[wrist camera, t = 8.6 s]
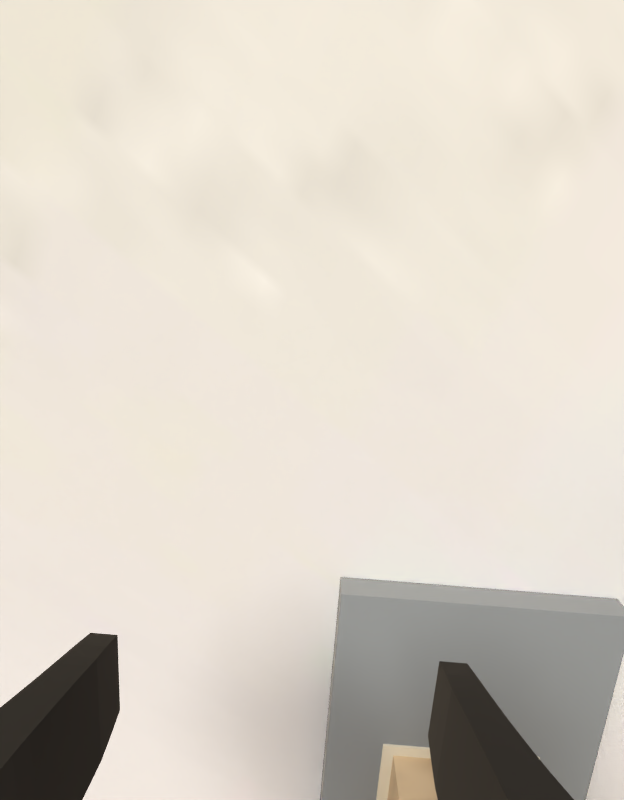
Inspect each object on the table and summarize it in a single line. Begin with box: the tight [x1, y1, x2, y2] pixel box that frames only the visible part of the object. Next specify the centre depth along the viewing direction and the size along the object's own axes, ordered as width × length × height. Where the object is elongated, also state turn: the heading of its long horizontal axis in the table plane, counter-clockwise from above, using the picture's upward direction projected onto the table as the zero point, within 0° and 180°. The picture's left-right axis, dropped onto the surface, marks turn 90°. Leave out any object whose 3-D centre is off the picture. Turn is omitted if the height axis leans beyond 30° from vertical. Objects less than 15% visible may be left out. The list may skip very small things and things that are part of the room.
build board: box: [320, 577, 624, 800], centre depth 24 cm, size 12×16×1 cm
